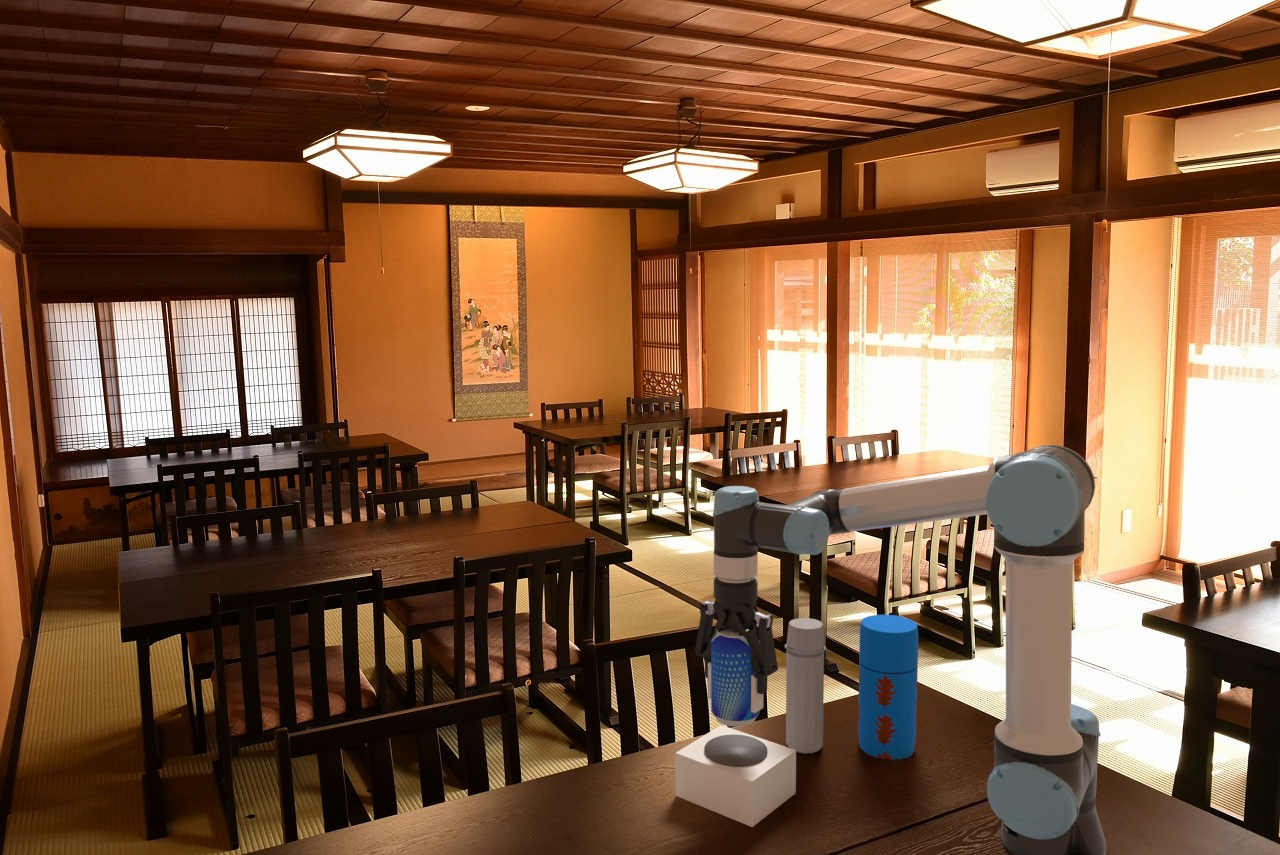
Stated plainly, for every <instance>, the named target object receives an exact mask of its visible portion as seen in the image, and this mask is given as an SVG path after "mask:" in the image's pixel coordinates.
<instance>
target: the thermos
mask: <svg viewBox="0 0 1280 855" xmlns="http://www.w3.org/2000/svg"><path fill="white" fill-rule="evenodd" d="M858 651H859V655H858V659H859V660H858V661H859V662H858V664H859V665H858V716H857V717H858V719H857V722H858V723H857V724H858V726H857V730H858V744H859V745H860V746H859V748H861V749H862V750H863V751H864V752H865V753H864V752H863V751H862V750H861V749H860V750H861V751H862V752H863V753H864V754H866V753H868V754H870V755H871V756H870V755H869V756H870V757H872V756H875V757H874V758H876V757H879V758H883V759H882V760H885V759H890V760H889V761H894V760H893V759H901V760H903V759H902V758H905V759H908V758H909V756H910V755H911V756H913V755H914V753H913V752H915V747H916V737H917V713H918V712H917V710H918V708H917V706H918V667H919V666H918V665H919V628H918V624H917V622H916V621H914V620H912V619H910V618H908V617H905V616H899V615H895V614H875V615H874V614H873V615H868V616H866V617H864V618H862V619H861V621H860V625H859V648H858ZM868 754H867V755H868ZM912 754H913V755H912ZM911 756H910V757H911ZM907 757H908V758H907ZM879 758H878V759H879ZM891 759H892V760H891Z"/></svg>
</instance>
